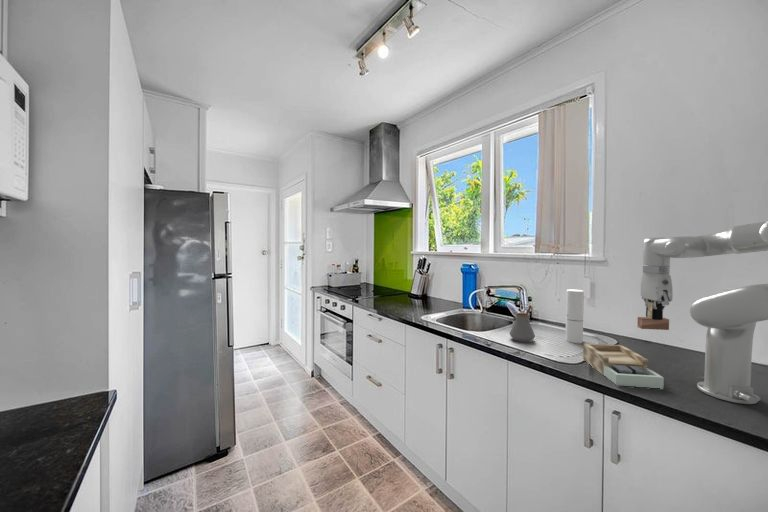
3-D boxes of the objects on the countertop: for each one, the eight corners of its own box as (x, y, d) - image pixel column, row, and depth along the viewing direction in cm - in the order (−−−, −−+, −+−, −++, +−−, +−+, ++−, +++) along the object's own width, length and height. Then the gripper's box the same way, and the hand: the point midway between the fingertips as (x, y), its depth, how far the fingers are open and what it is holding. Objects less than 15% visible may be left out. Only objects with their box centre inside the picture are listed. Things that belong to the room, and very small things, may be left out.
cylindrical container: (577, 338, 149) (578, 289, 148) (585, 343, 142) (587, 291, 140) (562, 338, 149) (563, 289, 148) (570, 343, 142) (571, 291, 141)
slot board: (647, 379, 105) (648, 359, 105) (603, 376, 107) (603, 357, 107) (621, 362, 120) (621, 345, 119) (583, 360, 122) (583, 343, 122)
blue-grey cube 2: (624, 376, 105) (631, 381, 101) (611, 375, 106) (618, 381, 102) (624, 365, 105) (632, 370, 101) (612, 364, 106) (619, 369, 102)
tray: (663, 389, 98) (663, 377, 97) (615, 386, 100) (616, 374, 100) (647, 379, 105) (647, 367, 105) (603, 376, 107) (603, 365, 107)
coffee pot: (531, 345, 140) (531, 314, 139) (506, 340, 147) (506, 310, 146) (542, 334, 156) (543, 306, 155) (519, 330, 163) (520, 303, 162)
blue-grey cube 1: (641, 377, 104) (649, 383, 100) (628, 376, 105) (635, 382, 101) (641, 366, 104) (649, 371, 100) (628, 365, 105) (636, 370, 101)
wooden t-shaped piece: (668, 329, 111) (669, 303, 110) (641, 328, 112) (642, 302, 112) (664, 328, 113) (665, 302, 113) (637, 327, 115) (638, 301, 114)
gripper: (685, 272, 103) (682, 324, 104) (651, 268, 119) (650, 313, 120) (660, 272, 104) (658, 323, 105) (630, 268, 120) (629, 313, 121)
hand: (654, 317), depth 113 cm, fingers closed on wooden t-shaped piece, 2 cm apart
